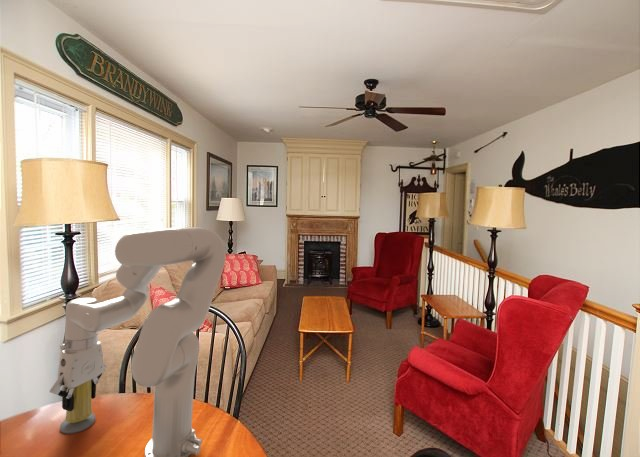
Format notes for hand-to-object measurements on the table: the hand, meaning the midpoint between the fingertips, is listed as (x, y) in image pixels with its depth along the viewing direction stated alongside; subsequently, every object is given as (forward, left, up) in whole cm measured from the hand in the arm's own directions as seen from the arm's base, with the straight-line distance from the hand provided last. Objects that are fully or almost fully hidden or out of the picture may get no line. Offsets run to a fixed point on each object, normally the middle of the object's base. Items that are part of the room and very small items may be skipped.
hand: (79, 402), depth 88 cm
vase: (0, 0, -4) cm, 4 cm away
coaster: (0, 0, -6) cm, 6 cm away
